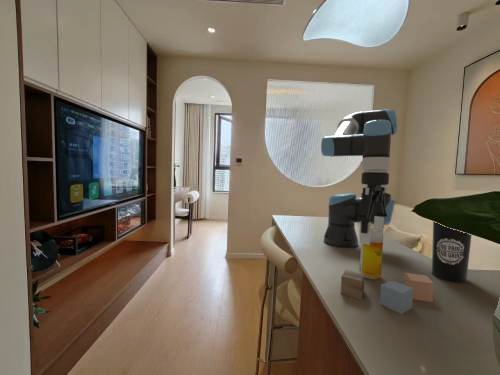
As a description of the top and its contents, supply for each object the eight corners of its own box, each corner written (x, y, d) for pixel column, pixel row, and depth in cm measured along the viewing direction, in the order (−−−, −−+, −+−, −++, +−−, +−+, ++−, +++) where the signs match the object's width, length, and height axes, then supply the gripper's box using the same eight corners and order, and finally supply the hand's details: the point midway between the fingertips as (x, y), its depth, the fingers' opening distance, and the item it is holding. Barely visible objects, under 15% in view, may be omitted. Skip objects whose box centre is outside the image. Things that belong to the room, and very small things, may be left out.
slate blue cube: (390, 298, 61) (391, 280, 61) (412, 308, 57) (413, 288, 57) (379, 304, 59) (380, 284, 58) (401, 314, 54) (402, 293, 54)
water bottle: (426, 276, 75) (431, 205, 74) (430, 267, 83) (434, 202, 82) (470, 287, 68) (475, 208, 67) (470, 276, 76) (475, 205, 75)
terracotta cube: (404, 290, 66) (405, 272, 66) (425, 293, 65) (426, 275, 64) (409, 298, 62) (410, 280, 61) (432, 302, 60) (433, 283, 60)
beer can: (384, 281, 71) (386, 232, 71) (362, 279, 73) (364, 231, 72) (377, 273, 77) (379, 227, 76) (357, 271, 78) (359, 226, 78)
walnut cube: (344, 286, 68) (345, 269, 67) (364, 292, 65) (364, 274, 64) (340, 294, 63) (341, 275, 63) (361, 299, 61) (362, 280, 60)
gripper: (374, 172, 85) (371, 231, 86) (347, 170, 67) (344, 244, 68) (398, 173, 80) (395, 235, 81) (376, 170, 61) (372, 250, 62)
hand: (371, 239), depth 74 cm, fingers open, 13 cm apart
